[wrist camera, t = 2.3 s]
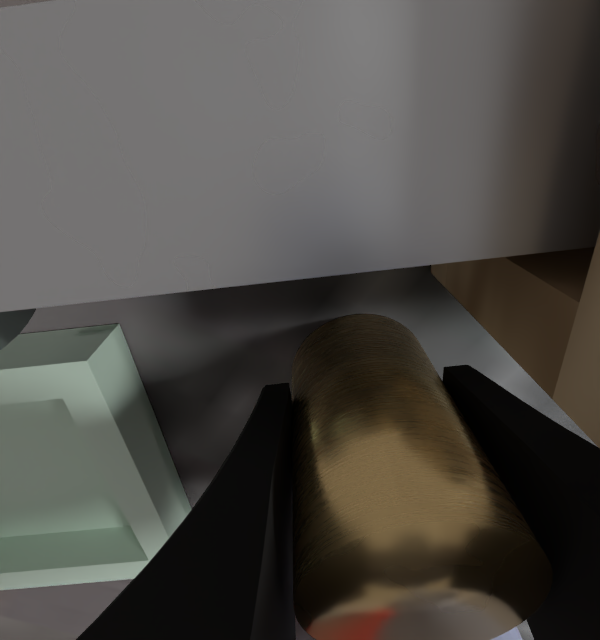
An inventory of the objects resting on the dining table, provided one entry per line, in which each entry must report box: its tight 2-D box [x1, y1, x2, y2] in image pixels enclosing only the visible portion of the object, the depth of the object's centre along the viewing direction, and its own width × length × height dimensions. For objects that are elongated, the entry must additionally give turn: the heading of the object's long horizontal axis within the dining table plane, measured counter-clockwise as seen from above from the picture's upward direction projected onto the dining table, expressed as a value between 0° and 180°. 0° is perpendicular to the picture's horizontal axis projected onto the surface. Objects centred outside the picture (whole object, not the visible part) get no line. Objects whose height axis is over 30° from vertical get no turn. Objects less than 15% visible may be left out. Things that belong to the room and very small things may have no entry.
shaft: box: [0, 0, 600, 350], centre depth 5 cm, size 6×14×6 cm, turn 96°
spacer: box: [292, 314, 553, 640], centre depth 8 cm, size 4×4×6 cm
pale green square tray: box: [0, 324, 192, 590], centre depth 11 cm, size 9×9×2 cm
